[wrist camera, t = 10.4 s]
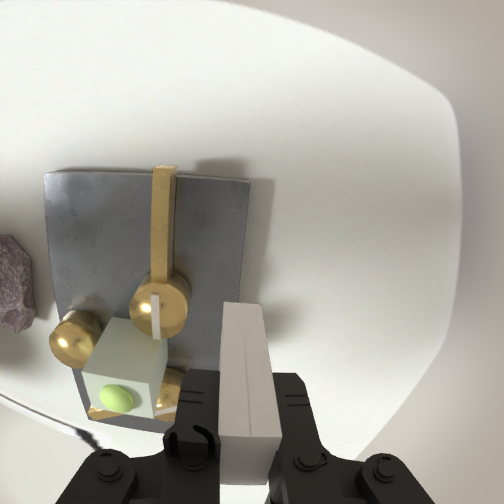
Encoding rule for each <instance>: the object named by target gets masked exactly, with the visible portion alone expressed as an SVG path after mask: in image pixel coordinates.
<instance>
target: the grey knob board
mask: <svg viewBox="0 0 504 504" xmlns="http://www.w3.org/2000/svg"><path fill="white" fill-rule="evenodd" d="M152 180H153V173H144V172H113V171H53V172H49V173H45V174H44V190H45V214H46V229H47V240H48V250H49V258H50V266H51V273H52V280H53V287H54V293H55V298H56V304H57V309H58V314H59V319H60V323H59V325H58V326H57V327H56V328H55V330H54V331H53V332H52V334H51V335H50V337H49V345H50V348H51V350H52V352H53V354H54V355H55V356H56V358H57V359H58V360H59V361H61V362H62V363H63V364H65V365H67V366H69V367H71V368H72V371H73V374H74V378H75V381H76V384H77V387H78V391H79V394H80V397H81V400H82V403H83V405H84V408H85V411H86V414H87V413H88V411H89V408H90V406H91V402H90V399H89V396H88V393H87V390H86V386H85V383H84V379H83V376H82V372H81V371H82V369H83V367H84V366H85V364H86V362H87V360H88V358H89V356H90V355H91V353H92V351H93V349H94V348H95V346H96V344H97V342H98V340H99V339H100V337H101V335H102V333H103V332H104V330H105V328H106V327H107V325H108V323H109V321H110V320H111V318H112V317H117V318H124V319H131V317H130V313H129V307H130V302H131V300H132V298H133V297H134V295H135V293H136V291H137V290H138V288H139V286H140V284H141V283H142V281H143V279H144V278H145V277H146V275H148V274H149V273H150V272H151V204H152ZM249 189H250V181H249V180H246V179H235V178H223V177H211V176H198V175H183V174H177V175H176V190H175V209H174V233H173V271H174V272H176V273H178V274H179V275H181V276H182V277H183V278H184V279H185V280H186V281H187V283H188V285H189V287H190V291H191V299H190V304H189V308H188V312H187V316H186V321H185V324H184V327H183V328H182V330H181V331H180V332H179V333H178V334H176V335H175V336H173V337H170V338H167V347H168V360H167V364H166V368H172V369H176V370H178V371H180V372H182V373H183V374H184V375H185V374H186V373H187V371H188V370H189V369H190V368H193V369H204V370H216V371H219V363H220V346H221V333H222V319H223V307H224V302H234V303H238V293H239V283H240V274H241V264H242V255H243V245H244V236H245V226H246V217H247V208H248V199H249ZM87 417H88V419H89V420H93V419H92V418H91V417H90V416H89V415H88V414H87ZM93 421H97V422H101V423H106V424H110V425H115V426H120V427H126V428H131V429H137V430H143V431H149V432H156V433H163V434H165V432H166V430H167V429H169V428H170V427H171V426H172V425H174V422H165V421H160V420H157V419H155V418H154V419H152V418H146V417H139V416H133V415H128V414H124V415H120V416H115V417H110V418H105V419H99V420H93Z"/></svg>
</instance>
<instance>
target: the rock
mask: <svg viewBox="0 0 504 504" xmlns="http://www.w3.org/2000/svg"><path fill="white" fill-rule="evenodd" d="M36 314H37V310H36V307H35V305H34V302H33V294H32V279H31V262H30V259H29V257H28V256H27V254H26V253H25V252H24V251H23V250H22V249H20V247H19V245H18V244H17V242H16V241H14V240H13V238H12V237H11V236H10V235H7V236H3V235H0V325H1V326H3V327H5V326H7V327H9V328H11V329H14V331H15V333H19V332H21V331H23V330H25V329H27V328H29V327H31V325H32V322H33V320H34V318H35V317H36Z"/></svg>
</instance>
